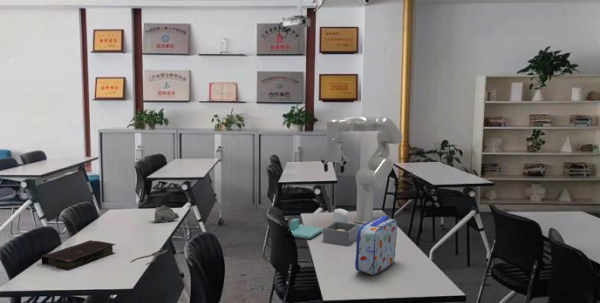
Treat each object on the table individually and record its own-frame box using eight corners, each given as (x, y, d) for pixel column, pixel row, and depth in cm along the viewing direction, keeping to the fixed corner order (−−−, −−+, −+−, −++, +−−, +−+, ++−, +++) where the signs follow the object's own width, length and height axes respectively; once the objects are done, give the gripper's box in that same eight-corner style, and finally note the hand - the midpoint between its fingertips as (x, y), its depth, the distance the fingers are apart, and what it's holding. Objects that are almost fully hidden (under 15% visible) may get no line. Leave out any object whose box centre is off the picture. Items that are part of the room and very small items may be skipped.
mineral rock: (180, 220, 273) (180, 204, 272) (170, 225, 263) (170, 208, 262) (161, 218, 277) (161, 202, 275) (151, 223, 266) (150, 206, 265)
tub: (334, 233, 246) (335, 221, 245) (359, 237, 240) (359, 224, 239) (323, 242, 232) (323, 228, 231) (348, 246, 226) (349, 232, 225)
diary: (41, 265, 200) (40, 254, 199) (89, 249, 222) (89, 239, 221) (69, 272, 191) (68, 260, 191) (117, 254, 214) (116, 244, 213)
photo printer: (332, 229, 254) (332, 208, 253) (337, 228, 257) (338, 206, 256) (345, 233, 247) (345, 211, 245) (350, 232, 249) (351, 210, 248)
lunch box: (377, 256, 211) (378, 210, 209) (399, 260, 206) (400, 213, 203) (352, 275, 188) (352, 223, 185) (375, 280, 182) (376, 227, 180)
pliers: (128, 262, 200) (149, 248, 220) (128, 264, 200) (149, 249, 220) (148, 263, 199) (168, 249, 219) (148, 265, 199) (168, 250, 219)
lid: (299, 229, 256) (299, 216, 255) (323, 232, 250) (323, 219, 249) (284, 237, 241) (284, 223, 240) (310, 241, 234) (310, 226, 234)
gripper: (350, 141, 251) (351, 171, 254) (322, 140, 259) (322, 170, 262) (345, 143, 245) (346, 174, 247) (316, 142, 253) (317, 172, 255)
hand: (334, 172), depth 254 cm, fingers open, 9 cm apart
